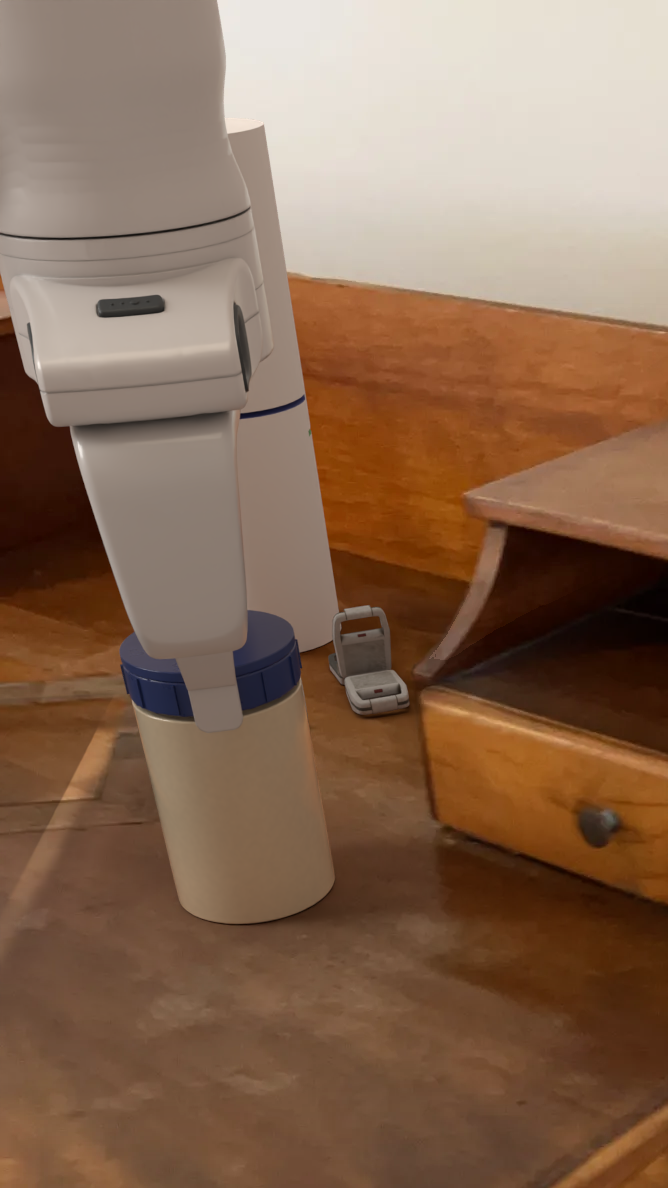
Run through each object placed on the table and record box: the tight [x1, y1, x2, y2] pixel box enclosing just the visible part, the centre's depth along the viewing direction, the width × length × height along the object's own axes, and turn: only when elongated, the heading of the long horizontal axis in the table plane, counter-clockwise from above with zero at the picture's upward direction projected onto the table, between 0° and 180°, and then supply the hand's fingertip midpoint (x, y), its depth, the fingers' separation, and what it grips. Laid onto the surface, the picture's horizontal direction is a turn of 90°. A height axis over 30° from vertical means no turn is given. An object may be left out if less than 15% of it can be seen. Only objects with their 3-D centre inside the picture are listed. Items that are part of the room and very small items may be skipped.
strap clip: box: [327, 604, 410, 716], centre depth 91 cm, size 8×3×4 cm, turn 20°
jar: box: [131, 676, 336, 925], centre depth 72 cm, size 7×7×10 cm
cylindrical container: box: [225, 117, 342, 653], centre depth 91 cm, size 7×7×25 cm
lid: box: [118, 610, 303, 717], centre depth 69 cm, size 7×7×2 cm
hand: (219, 685), depth 69 cm, fingers closed on lid, 7 cm apart
